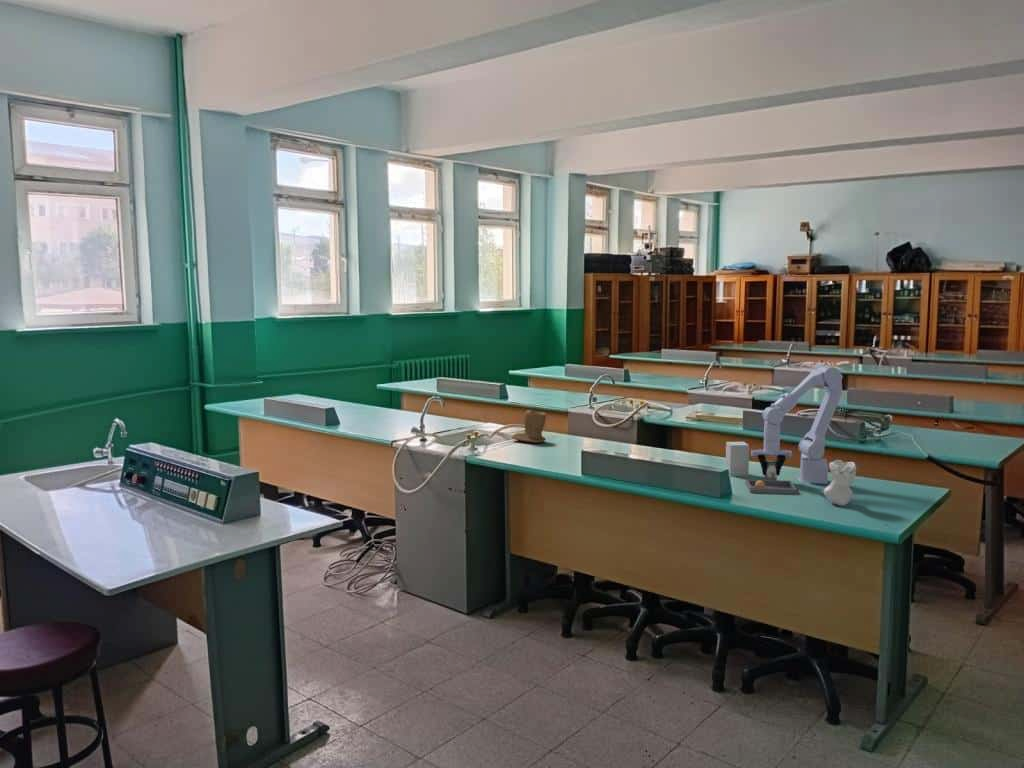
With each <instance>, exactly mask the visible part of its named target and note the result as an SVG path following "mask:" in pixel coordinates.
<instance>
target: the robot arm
mask: <svg viewBox="0 0 1024 768" xmlns="http://www.w3.org/2000/svg"><path fill="white" fill-rule="evenodd" d="M843 378H844V376H843V374H842V373H841V371H840V369H838V368H837V367H834V366H829V365H826V364H819V365H817V366H816V367H815V368H814V369H812V370H811V371H810V372H809V374H808V375H807V376H806V377H805V378H804V379H803V380H802V381H801V382H800V383H799V384H798V385H797V386H796V387H795V388H794V389H793V390H792V391H791V392H785V393H782V394H780V395H779V398H778V399H777V400H776V401H775V402H774V403H773V402H772V403H771V404H770V406H767V407H765V409H764V410H763V413H761V418H762V420H763V421H764V424H763V425H764V427H763V449H762V448H761V449H751V450H750V455H751V457H755V456H757V458H758V461H759V464H760V467H761V472H762V475H763V476H765V464H766V460H767V458H766V457H776V461H777V462H778V464H777V476H780V473H781V470H782V467H783V464H784V463H785V461H786V460H787V459H786V457H790V458H791V457H793V451H792V450H786V449H780V447H781V445H780V444H781V423H782V422H783V420H784V417H785V415H787V414H788V413H789V412H790V411H791V410H792V409H793V408H794V407H795V406H797V405H798V399H800V398H802V396H804V395H805V394H806V393H807V392H809V391H810V390H811V389H812V388H813V387H816V386H821V387H822V388H823V390H824V391H825V393H824V395H823V399H822V401H821V403H820V405H819V406H820V407H819V409H818V411H817V413H816V415H815V418H814V420H813V423H812V426H811V428H810V430H809V431H807V433H805V434H804V437H803V439H801V440H800V442H799V443H798V451H799V452H800V453H801V454H800V470H799V475H800V476H796V478H797V479H798V480H799V481H800V482H801V483H804V484H805V483H809V484H820V485H821V484H825V485H827V484H828V472H829V463H828V459H827V458H823V456H824V455H825V447H826V444H827V443H826V438H825V437H826V436H825V435H826V433H827V431H828V428H829V426H830V424H831V421H832V419H833V417H834V414H835V412H836V410H837V407H838V404H839V402H840V400H841V396H842V395H843V384H842V383H843V382H842V380H843ZM828 485H829V484H828Z"/></svg>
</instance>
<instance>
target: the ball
mask: <svg viewBox="0 0 1024 768" xmlns="http://www.w3.org/2000/svg"><path fill="white" fill-rule="evenodd" d="M755 487H756V488H765V483H764V482H763V481H757V482H756V483H755Z"/></svg>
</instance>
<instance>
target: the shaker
mask: <svg viewBox="0 0 1024 768" xmlns="http://www.w3.org/2000/svg"><path fill="white" fill-rule="evenodd" d="M777 464H778V462H777V460H773V459H766V464H765V475H764V480H777V481H778V475H777Z"/></svg>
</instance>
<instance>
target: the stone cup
mask: <svg viewBox="0 0 1024 768" xmlns="http://www.w3.org/2000/svg"><path fill="white" fill-rule="evenodd" d="M546 420H547V414H546V413H545V412H542V411H535V410H531V409H530V410H529V409H527V410H526V411H525V413H524V417H523V422H524V430H525V431H524V432H521V433H520V432H518V433H514V434H513V435H512V436H511V440H515V441H518V442H519V441H521V442H525V443H544V442H545V441H546V440H547V439H546V438H545V436H543V435H542V432H543V430H544V427H545V425H546Z"/></svg>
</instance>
